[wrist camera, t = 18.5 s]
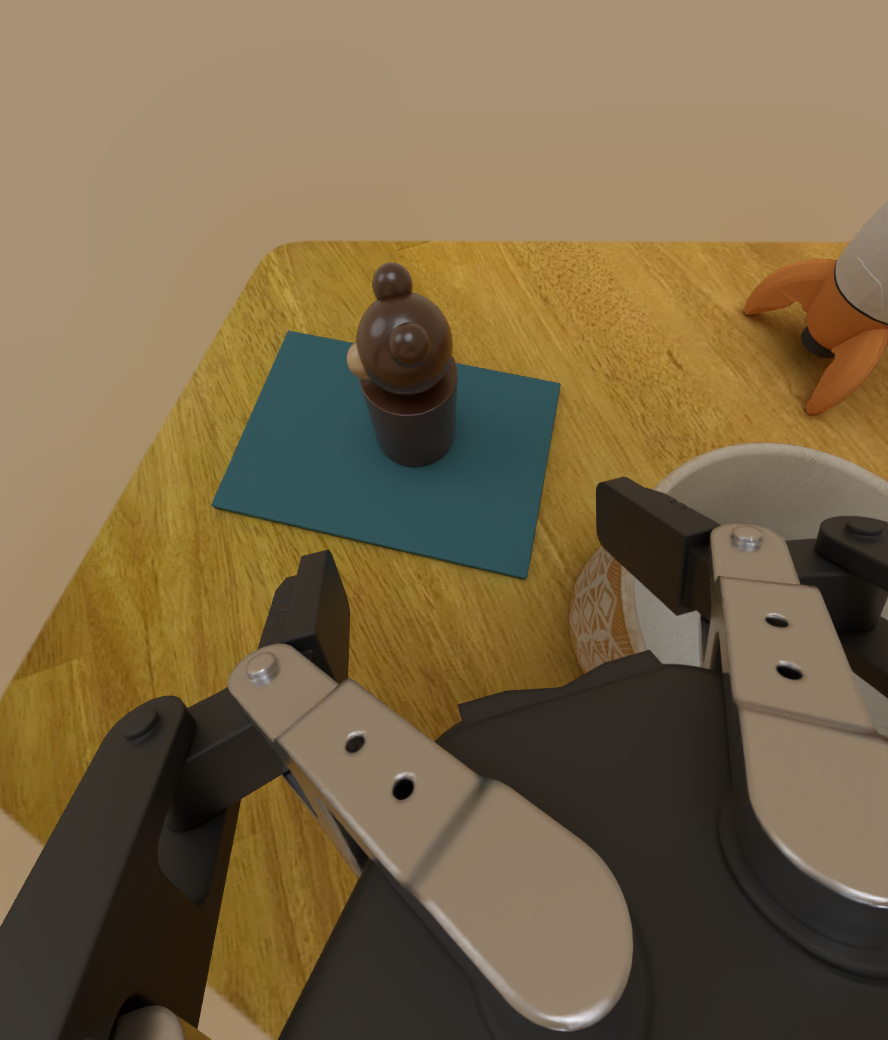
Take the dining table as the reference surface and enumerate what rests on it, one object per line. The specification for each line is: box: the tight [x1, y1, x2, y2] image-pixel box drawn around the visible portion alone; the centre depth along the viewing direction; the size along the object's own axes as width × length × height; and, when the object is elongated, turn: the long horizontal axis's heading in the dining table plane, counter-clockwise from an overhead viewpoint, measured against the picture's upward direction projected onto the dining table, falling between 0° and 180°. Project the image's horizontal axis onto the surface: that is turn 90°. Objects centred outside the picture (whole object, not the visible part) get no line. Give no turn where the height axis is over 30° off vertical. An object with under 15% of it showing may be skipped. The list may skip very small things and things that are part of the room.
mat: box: [211, 331, 561, 580], centre depth 28 cm, size 20×14×1 cm
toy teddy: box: [347, 263, 458, 467], centre depth 22 cm, size 6×5×11 cm
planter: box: [569, 443, 888, 737], centre depth 19 cm, size 13×13×10 cm
